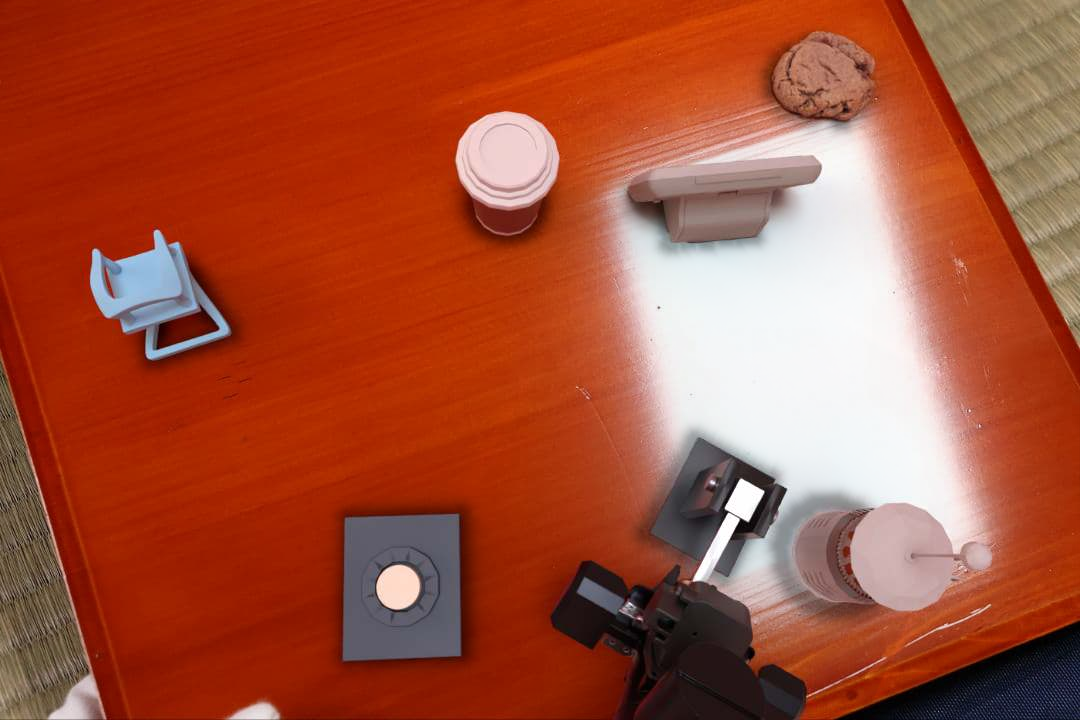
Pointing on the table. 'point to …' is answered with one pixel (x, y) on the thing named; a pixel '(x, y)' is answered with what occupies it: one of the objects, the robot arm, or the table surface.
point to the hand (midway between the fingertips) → (694, 578)
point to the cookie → (824, 77)
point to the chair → (153, 294)
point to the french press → (880, 556)
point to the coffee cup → (507, 169)
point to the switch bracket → (713, 504)
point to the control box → (438, 607)
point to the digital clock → (721, 195)
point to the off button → (399, 586)
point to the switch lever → (727, 526)
